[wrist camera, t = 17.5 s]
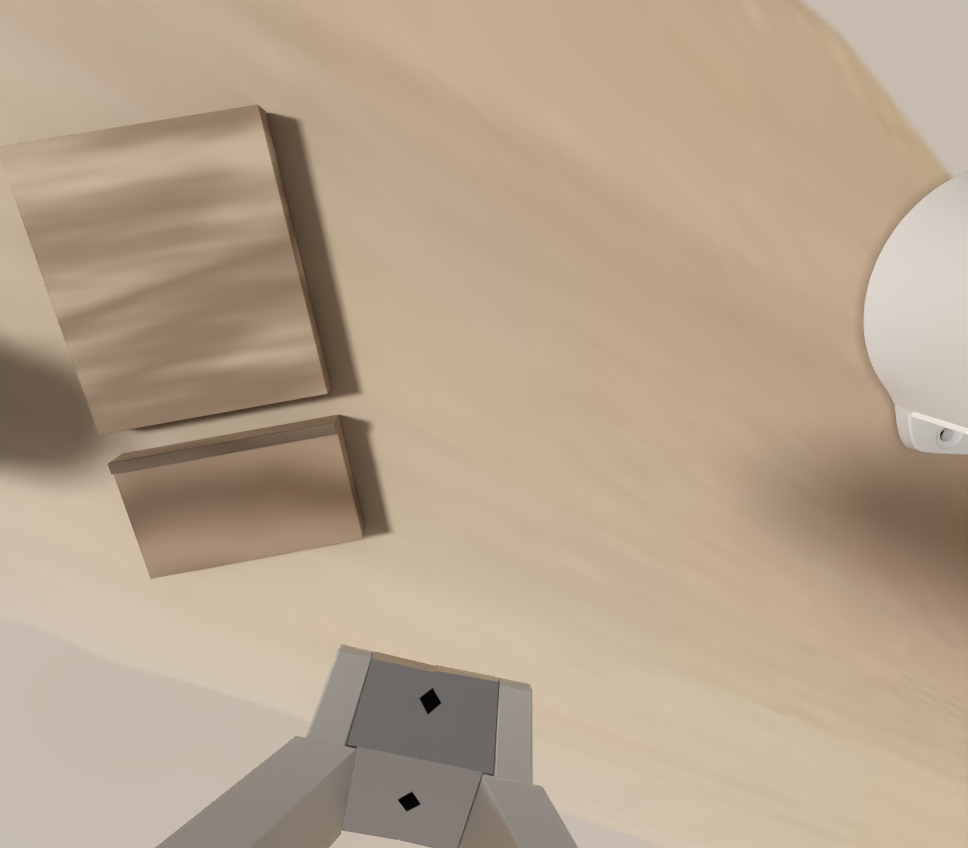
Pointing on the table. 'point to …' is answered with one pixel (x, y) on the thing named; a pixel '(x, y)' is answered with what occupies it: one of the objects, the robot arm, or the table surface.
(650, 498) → the table surface
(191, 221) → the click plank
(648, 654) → the table surface
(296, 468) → the laid plank
